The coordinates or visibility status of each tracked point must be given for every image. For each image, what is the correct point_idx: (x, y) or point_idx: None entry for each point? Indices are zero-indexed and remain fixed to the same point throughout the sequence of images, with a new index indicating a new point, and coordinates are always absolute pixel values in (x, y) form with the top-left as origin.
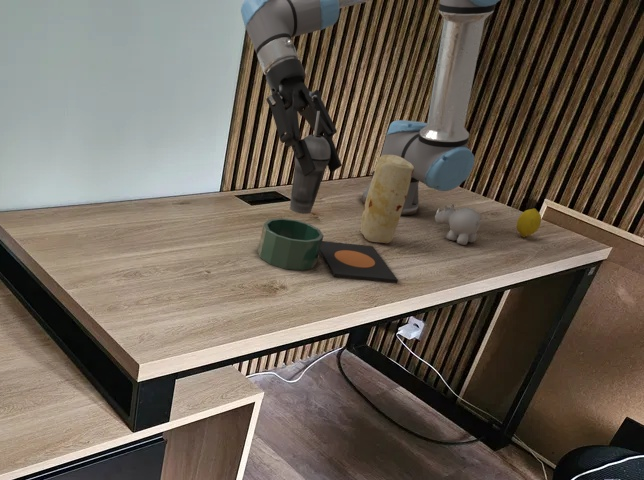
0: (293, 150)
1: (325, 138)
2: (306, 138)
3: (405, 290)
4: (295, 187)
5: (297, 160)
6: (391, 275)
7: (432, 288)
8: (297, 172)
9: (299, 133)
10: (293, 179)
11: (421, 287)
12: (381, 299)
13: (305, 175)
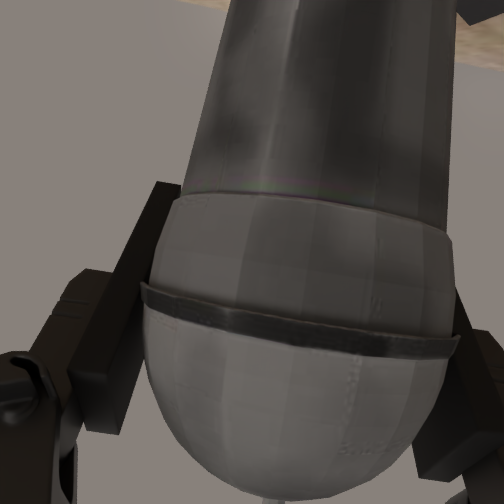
0: (45, 328)
1: (433, 467)
2: (186, 450)
3: None
4: (225, 21)
5: (160, 242)
6: (491, 10)
7: (498, 62)
8: (193, 145)
9: (74, 492)
10: (241, 38)
11: (486, 50)
12: None
13: (163, 186)
